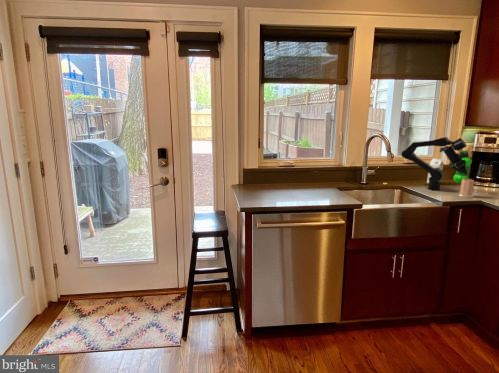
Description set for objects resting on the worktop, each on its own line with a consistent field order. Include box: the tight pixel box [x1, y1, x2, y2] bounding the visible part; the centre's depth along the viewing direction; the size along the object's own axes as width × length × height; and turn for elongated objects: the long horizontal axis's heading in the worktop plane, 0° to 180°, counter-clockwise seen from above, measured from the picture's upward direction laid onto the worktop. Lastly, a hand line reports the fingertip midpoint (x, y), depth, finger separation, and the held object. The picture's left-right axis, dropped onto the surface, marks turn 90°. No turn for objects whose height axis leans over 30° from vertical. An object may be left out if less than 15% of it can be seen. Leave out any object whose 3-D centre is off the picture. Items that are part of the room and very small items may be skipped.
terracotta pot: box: [459, 178, 475, 196], centre depth 216 cm, size 6×6×10 cm
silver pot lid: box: [456, 192, 475, 199], centre depth 217 cm, size 10×10×5 cm
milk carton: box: [426, 158, 444, 184], centre depth 251 cm, size 7×7×19 cm
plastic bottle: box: [452, 150, 473, 184], centre depth 254 cm, size 10×10×25 cm
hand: (464, 173), depth 221 cm, fingers open, 9 cm apart
